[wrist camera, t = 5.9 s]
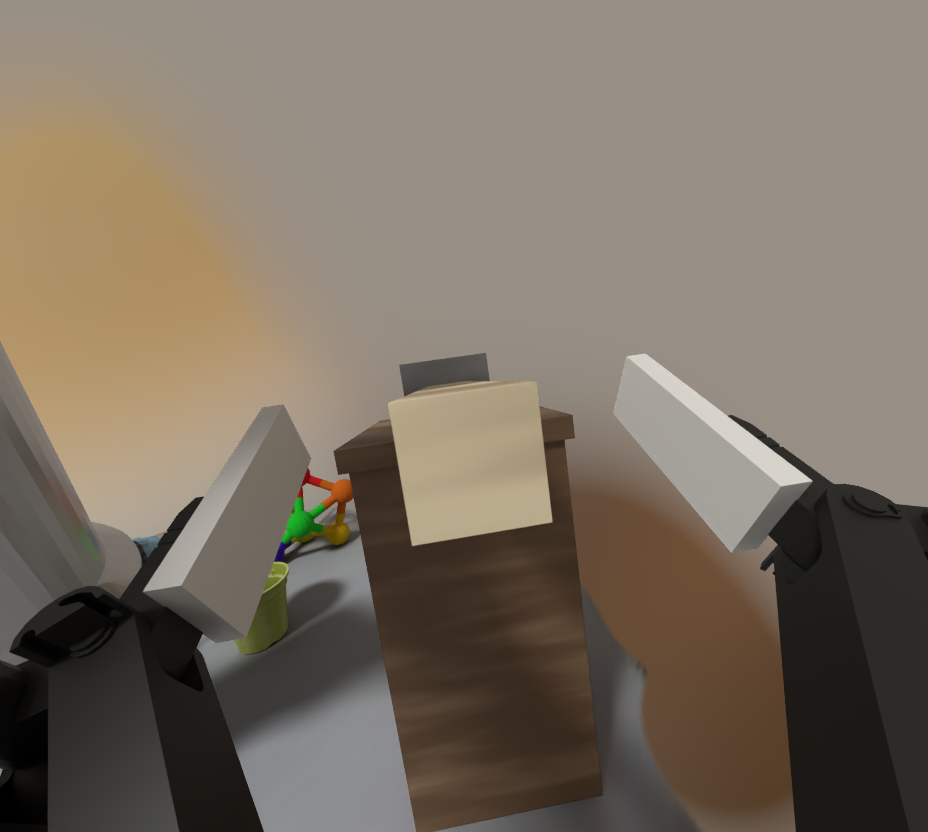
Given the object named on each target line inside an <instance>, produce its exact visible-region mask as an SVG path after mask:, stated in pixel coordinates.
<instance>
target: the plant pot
mask: <svg viewBox="0 0 928 832" xmlns="http://www.w3.org/2000/svg"><path fill="white" fill-rule="evenodd" d="M288 573H289V566H288V565H287V564H286V563H283V562H273V565H272V568H271V571H270V574H269V576H268V579H267V582H266V585H265V587H264V590H263V593H262V596H261V599H260V601H259V604H258V607H257V610H256V612H255V615H254V618H253V621H252V623H251V626H250V629H249V632H248V635H247V637H246V638H241V639H235V640H234V641H235V643H236V645H237V647H238V649H239V650H240V651H241V652H242V653H243V654H254V653H257V652H260V651H263V650H265V649H267V648H268V647H269V646H270V645H271V644H272V643H273V642H275V641H278V640H280V639H281V638H282V636H283V635H284V634H285V633H286V631H287V629H288V614H287V598H286V583H287V575H288Z"/></svg>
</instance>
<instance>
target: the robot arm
mask: <svg viewBox="0 0 928 832" xmlns="http://www.w3.org/2000/svg"><path fill="white" fill-rule="evenodd" d="M613 413H614V415H615V416H616V417H617V418H618V419H619V421H620V422H621V423H622V424H623V425H624V426H625V428H626V429H627V430H628V431H629V432H630V433H631V435H632V436H633V437H634V438H635V439H636V441H637V442H638V443H639V444H640V445H641V446H642V448H643V449H644V450H645V451H646V452H647V454H648V455H649V456H650V457H651V458H652V460H653V461H654V462H655V463H656V464H657V465H658V467H659V468H660V469H661V470H662V471H663V473H664V474H665V475H666V476H667V477H668V478H669V480H670V481H671V482H672V483H673V484H674V485H675V487H676V488H677V489H678V490H679V491H680V493H681V494H682V495H683V496H684V497H685V499H686V500H687V501H688V502H689V503H690V504H691V506H692V507H693V508H694V509H695V510H696V511H697V513H698V514H699V515H700V516H701V517H702V519H703V520H704V521H705V522H706V523H707V524H708V526H709V527H710V528H711V529H712V530H713V532H714V533H715V534H716V535H717V536H718V537H719V539H720V540H721V541H722V542H723V543H724V545H725V546H726V547H727V548H728V549H729V550H730V552H732V553H733V552H739V551H745V550H751V549H756V548H758V547H759V546H760V545H761V544H762V542H763V541H764V540H765V539H766V538H767V536H768V535H769V536H770V537H771V538H772V539H773V540H774V541H775V542H776V543H777V544H778V545H777V546H776V547H775V549H774V550H773V551H772V552H771V553H770V554H769V555H768V557H767V558H766V559H765V560H764V561H763V562H762V564H761V567H760V569H761V570H764V571H766V570H767V568H768V567H769V566H770V565H771V564H772V563H774V569H775V571H774V572H773V574H774V575H775V582H776V594H777V605H778V618H779V631H780V643H781V655H782V667H783V679H784V692H785V704H786V716H787V728H788V739H789V752H790V763H791V764H790V765H791V776H792V788H793V801H794V812H795V824H796V832H928V507H919V506H908V505H898V504H895V503H893V502H892V501H891V500H889V499H887V498H885V497H884V496H882V495H880V494H878V493H876V492H874V491H871V490H868V489H865V488H862V487H859V486H854V485H849V484H833V483H831V482H830V481H829V480H827V479H826V478H825V477H823V476H822V475H820V474H819V473H818V472H816V471H815V470H814V469H812V468H811V467H810V466H808V465H807V464H805V463H804V462H803V461H801V460H800V459H799V458H797V457H796V456H795V455H793V454H792V453H790V452H789V451H788V450H786V449H785V448H784V447H780V446H779V444H778V443H777V442H775V441H774V440H773V439H771V438H770V437H769V438H767V436H766V434H764V433H763V432H762V431H760V430H759V429H758V428H756V427H755V426H753V425H752V424H750V423H748V422H746V421H744V420H741V419H739V418H737V417H735V416H733V415H729V416H727V415H725V414H724V413H723V412H721V411H720V410H719V409H717V408H716V407H715V406H713V405H712V404H711V403H710V402H708V401H707V400H706V399H704V398H703V397H702V396H700V395H699V394H698V393H696V392H695V391H694V390H693V389H691V388H690V387H688V386H687V385H686V384H685V383H683V382H682V381H681V380H679V379H678V378H677V377H675V376H674V375H673V374H671V373H670V372H669V371H668V370H666V369H665V368H663V367H662V366H661V365H660V364H658V363H657V362H656V361H654V360H653V359H651V358H650V357H649V356H648V355H647V354H640V355H634V356H627V357H626V361H625V365H624V370H623V374H622V378H621V382H620V387H619V391H618V395H617V400H616V404H615V408H614V412H613ZM310 460H311V457H310V455H309V453H308V451H307V450H306V447H305V446H304V444H303V442H302V440H301V438H300V436H299V434H298V432H297V430H296V428H295V426H294V424H293V422H292V420H291V418H290V416H289V414H288V412H287V410H286V409H285V407H284V405H277V406H271V407H263V408H262V409H261V411H260V412H259V414H258V415H257V417H256V418H255V420H254V421H253V423H252V424H251V426H250V427H249V429H248V430H247V432H246V434H245V435H244V437H243V438H242V440H241V441H240V443H239V444H238V446H237V447H236V449H235V451H234V452H233V454H232V455H231V457H230V458H229V460H228V461H227V463H226V464H225V466H224V467H223V469H222V470H221V472H220V474H219V475H218V477H217V478H216V480H215V481H214V483H213V484H212V486H211V487H210V489H209V490H208V492H207V494H206V495H205V496H204V497H198V498H195V499H194V500H193V501H192V502H191V503H190V504H188V505H187V506H186V507H185V508H184V509H183V510H182V511H181V512H180V513H179V514H178V515H177V516H176V518H175V519H174V521H173V522H172V524H171V525H170V527H169V528H168V529H167V531H168V532H167V533H165V534H164V535H163V537H162V538H161V539H159V538H157V537H154V536H151V537H147V538H135V539H131V538H130V537H129V536H127V535H126V534H125V533H124V532H122V531H120V530H117V529H115V528H113V527H110V526H107V525H104V524H99V523H94V522H91V521H90V519H89V517H88V515H87V513H86V511H85V509H84V507H83V505H82V503H81V501H80V499H79V497H78V495H77V493H76V491H75V489H74V487H73V485H72V483H71V481H70V479H69V477H68V475H67V473H66V471H65V470H64V467H63V465H62V464H61V461H60V459H59V458H58V455H57V454H56V452H55V450H54V448H53V446H52V444H51V442H50V440H49V438H48V436H47V434H46V432H45V430H44V428H43V426H42V424H41V422H40V420H39V418H38V416H37V414H36V412H35V410H34V408H33V406H32V404H31V402H30V400H29V398H28V396H27V394H26V392H25V390H24V388H23V386H22V384H21V382H20V380H19V378H18V376H17V374H16V372H15V370H14V368H13V366H12V364H11V362H10V360H9V358H8V356H7V354H6V352H5V350H4V348H3V346H2V344H1V342H0V768H1V769H3V770H2V773H1V776H0V832H264V830H263V828H262V825H261V822H260V819H259V816H258V813H257V810H256V807H255V805H254V802H253V799H252V796H251V793H250V790H249V787H248V784H247V782H246V779H245V776H244V773H243V770H242V767H241V764H240V761H239V759H238V756H237V753H236V750H235V747H234V744H233V741H232V738H231V735H230V733H229V730H228V727H227V724H226V721H225V718H224V715H223V712H222V710H221V707H220V704H219V701H218V698H217V695H216V692H215V689H214V687H213V684H212V681H211V678H210V675H209V672H208V669H207V666H206V663H205V661H204V658H203V655H202V654H201V652H200V651H199V650H198V649H197V648H196V647H197V645H198V643H199V641H200V639H201V636H202V634H204V635H205V636H207V637H208V638H210V639H211V640H212V641H214V642H215V643H218V642H223V641H229V640H235V639H241V638H246V637H247V635H248V632H249V629H250V626H251V623H252V621H253V618H254V615H255V612H256V610H257V607H258V604H259V601H260V599H261V596H262V593H263V590H264V587H265V585H266V582H267V579H268V576H269V574H270V571H271V568H272V565H273V562H274V560H275V557H276V554H277V551H278V549H279V546H280V543H281V540H282V538H283V535H284V532H285V529H286V526H287V524H288V521H289V518H290V515H291V513H292V510H293V507H294V504H295V501H296V499H297V496H298V493H299V490H300V488H301V485H302V482H303V479H304V477H305V474H306V471H307V468H308V465H309V463H310Z"/></svg>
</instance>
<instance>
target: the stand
mask: <svg viewBox="0 0 928 832" xmlns="http://www.w3.org/2000/svg"><path fill="white" fill-rule="evenodd" d="M539 409H540V417H541V426H542V435H543V443H544V452H545V461H546V470H547V478H548V487H549V496H550V504H551V513H552V522H551V523H545V524H539V525H533V526H528V527H522V528H516V529H510V530H504V531H498V532H492V533H486V534H480V535H474V536H468V537H462V538H457V539H451V540H445V541H439V542H433V543H427V544H421V545H415V546H412V543H411V537H410V531H409V525H408V519H407V513H406V507H405V501H404V495H403V490H402V484H401V478H400V472H399V466H398V460H397V454H396V448H395V442H394V436H393V431H392V425H391V419H390V420H383V421H379V422H378V423H376V424H375V425H373V426H371V427H370V428H368V429H367V430H365V431H364V432H362V433H361V434H359V435H358V436H356V437H355V438H353V439H351V440H350V441H348V442H347V443H345V444H344V445H342V446H341V447H339V448H338V449H336V450H335V451H334V455H335V461H336V466H337V471H338V475H340V474H347V473H349V475H350V481H351V486H352V492H353V497H354V502H355V507H356V513H357V518H358V523H359V529H360V534H361V539H362V545H363V550H364V555H365V561H366V566H367V571H368V577H369V582H370V587H371V593H372V598H373V603H374V608H375V614H376V619H377V624H378V630H379V635H380V640H381V646H382V651H383V656H384V662H385V667H386V672H387V678H388V683H389V688H390V694H391V699H392V704H393V709H394V715H395V720H396V725H397V731H398V736H399V741H400V747H401V752H402V757H403V763H404V768H405V773H406V779H407V784H408V789H409V795H410V800H411V805H412V810H413V816H414V821H415V826H416V832H433V831H438V830H442V829H447V828H451V827H456V826H461V825H465V824H470V823H474V822H479V821H484V820H488V819H493V818H498V817H502V816H507V815H511V814H516V813H521V812H525V811H530V810H534V809H539V808H544V807H548V806H553V805H557V804H562V803H567V802H571V801H576V800H581V799H585V798H590V797H594V796H599V795H602V786H601V776H600V767H599V758H598V748H597V739H596V730H595V720H594V711H593V702H592V692H591V683H590V674H589V664H588V655H587V646H586V636H585V627H584V618H583V608H582V599H581V590H580V580H579V571H578V562H577V552H576V543H575V534H574V524H573V515H572V506H571V496H570V487H569V478H568V468H567V459H566V450H565V441H564V440H565V439H572V438H575V435H574V426H573V416H572V415H570V414H567V413H563V412H559V411H555V410H551V409H548V408H544V407H540V406H539Z"/></svg>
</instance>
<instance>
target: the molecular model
mask: <svg viewBox="0 0 928 832" xmlns="http://www.w3.org/2000/svg"><path fill="white" fill-rule="evenodd" d="M306 483H309V484H312V485H314V486H317V487H321V488H323V489H326V490H329V491H331V495H332V496H330V497H329V498H328V499H326V500H325V501H324V502H322V503H321V504H320V505H318V506H317V507H316V508H315V509H313V510H312V511H310V512H309V513H308V512H305V511H304V503H303V490H302V486H303V485H305V484H306ZM352 499H353V492H352V486H351V481H350V480H346V479H343V480H339V481H337V482H336V483H335V484H334V483H331V482H328V481H325V480H322V479H319V478H316V477H313V476H311V475H310V471H309V469H308V468H307V471H306V474H305V477H304V479H303V482H302V485H301V488H300V490H299V493H298V496H297V499H296V501H295V504H294V507H293V510H292V513H291V516H290V518H289V521H288V524H287V526H286V530H287V533H286V534H285V535H284V536H283V538H282V540H281V543H280V546H279V549H278V551H277V554H276V557H275V560H274V562H281V561H282V560H283V558H284V552H285V551H284V550H285V549H286V548H288V547H289V546H290V545H292V544H293V543H295V542H296V541H297V542H301V543H304V542H307V541H309V540H311V539H312V538H313V536H326V539H327V541H328V542H329V543H330V544H332V545H341V544H343V543H344V542H345V541H347V539H348V537H349V535H350V529H349V527H348V525H347V524H346V523H344V514H345V507H346V502H349V501H350V500H352ZM335 502H338V507H337V514H336V522H334V523H332V524H331V525H330V526H329V527H328V526H324V525H320V524H316V523H314V519H315V518H316V517H317V516H319V515H320V514H321V513H322V512H324V511H325V510H326V509H328V508H329V507H330V506H331V505H333V504H334V503H335Z"/></svg>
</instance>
